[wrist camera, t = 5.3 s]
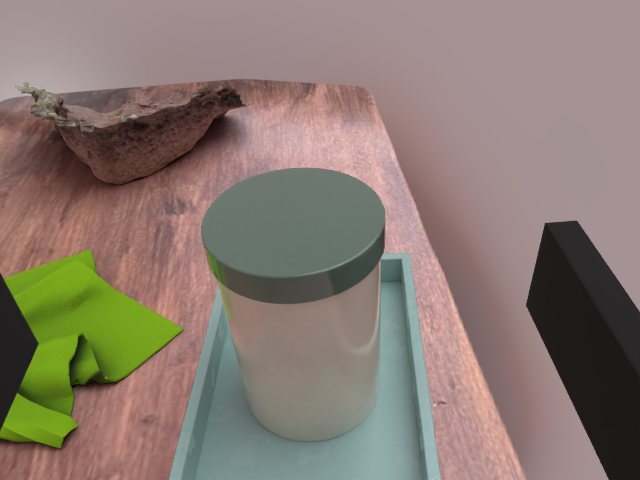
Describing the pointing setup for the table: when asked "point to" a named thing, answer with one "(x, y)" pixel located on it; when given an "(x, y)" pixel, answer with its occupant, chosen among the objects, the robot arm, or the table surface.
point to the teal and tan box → (328, 455)
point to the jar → (302, 296)
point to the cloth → (75, 343)
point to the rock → (133, 130)
